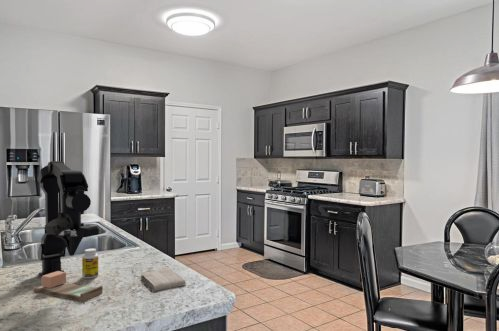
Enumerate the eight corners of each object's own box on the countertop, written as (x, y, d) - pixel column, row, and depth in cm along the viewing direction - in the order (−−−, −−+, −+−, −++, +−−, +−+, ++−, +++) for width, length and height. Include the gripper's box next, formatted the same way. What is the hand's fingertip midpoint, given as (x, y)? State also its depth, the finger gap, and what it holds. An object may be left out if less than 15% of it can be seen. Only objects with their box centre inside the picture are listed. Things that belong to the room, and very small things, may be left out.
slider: (41, 286, 121) (41, 276, 121) (57, 280, 126) (57, 270, 126) (50, 288, 119) (50, 277, 119) (66, 282, 125) (65, 272, 125)
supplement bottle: (83, 280, 132) (83, 252, 132) (81, 276, 137) (81, 249, 137) (99, 277, 136) (99, 250, 135) (96, 273, 140) (96, 247, 140)
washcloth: (169, 273, 142) (168, 265, 142) (187, 286, 127) (187, 277, 127) (138, 278, 136) (138, 270, 136) (153, 293, 120) (153, 284, 120)
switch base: (33, 291, 121) (33, 284, 121) (55, 283, 128) (55, 277, 128) (82, 301, 112) (82, 294, 112) (102, 292, 120) (102, 286, 120)
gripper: (29, 210, 117) (29, 258, 117) (71, 213, 110) (72, 264, 110) (59, 206, 127) (59, 250, 127) (100, 209, 120) (100, 256, 120)
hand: (71, 255), depth 121 cm, fingers closed
